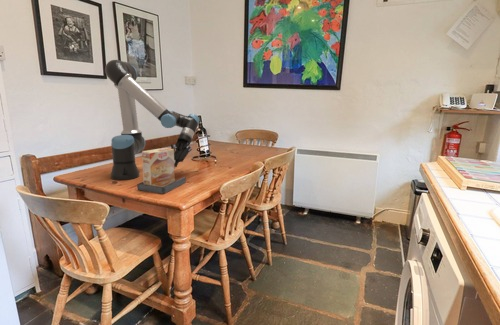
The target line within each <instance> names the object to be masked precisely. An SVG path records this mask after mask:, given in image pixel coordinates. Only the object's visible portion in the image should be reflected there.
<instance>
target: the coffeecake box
mask: <svg viewBox="0 0 500 325" xmlns="http://www.w3.org/2000/svg"><path fill="white" fill-rule="evenodd" d="M141 161H142V162H141V163H142V178H143V179H142V180H143V181H142V182H144V185H151V186H158V187H164V186H166V185H168V184H171V183H173V182H175V181H176V178H175V169H174V149H171V147H161V148H156V149H155V148H154V149H148V150H142V151H141Z"/></svg>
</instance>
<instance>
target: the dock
mask: <svg viewBox="0 0 500 325" xmlns="http://www.w3.org/2000/svg"><path fill="white" fill-rule="evenodd" d="M184 184H186V177H185V176H183V177H181V178H178V179H176V180H175V182H173V183H171V184H168V185H166V186H164V187H158V186H151V185H144V182H143V181H141V182H140V183H137V191H142V192H148V193H154V194H162V195H165V194H167V193H168V192H171V191H172V190H174V189H176V188H178V187H181V186H182V185H184Z"/></svg>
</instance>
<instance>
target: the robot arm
mask: <svg viewBox="0 0 500 325" xmlns="http://www.w3.org/2000/svg"><path fill="white" fill-rule="evenodd" d="M104 72H105V75H106V77H107V78H108V80H110V82H112V83H113V86H114V87H115V88H116V89H117V93H118V99H119V100H118V102H119V109H120V115H121V122H122V129H123V130H122V131H121V133H120V135H115V136H113V137H112V138H111V143H110V145H111V152H112V163H113V164H112V168H111V172H110V178H111V179H112V180H117V181H127V180H133V179H136V178H138V177H140V170H139V169H138V166H137V163H136V155H137V154H139V153H142V151H144V148H145V146H146V140H145V137H144V136H143V133H142V131H141V129H139V122H138V116H137V114H138V113H137V106H136V102H138V103H139V104H140V105H141V106H142V107H143V108H144V109H146V110H147V111H148V112H149V113H151V114H152V115H153V116H154V117H155V118H156V119H158V121H159V122H160V124H161V125H162V126H163V127H164V128H165V129H171V128H174V127H178V128H182V129H181V131H180V133H179V136H178V138H177V142H176V143H175V144H171V145H170V148H171V149H174V170H175V169H176V168H177V167H178V165H179V164H180V163H182V162H184V160H185V158H186V157H187V156H188V154H189V153H190V152H191V151H192V150H193V149H192V147H191V146H190V145H191V143H192V140H193V138H194V135H195V133H196V132H197V129H198V126H199V123H200V122H201V121H200V117H199V116H198V115H197V114H195V113H190V114H188V115H184V114H181V113H178V112H176V111H173V110H170V109H169V110H168V109H167V108H166V106H165V105H163V104H162V103H161V102H160V101H158V99H157V98H155V97H154V96H153V95H152V94H151V93H150V92H148V90H147V89H146V88H144V87H143V86H142V85H141V84H140V83H139V82H138V81H136V80H137V79H138V71H137V69H136V67H135V66H134V65H132V64H131V63H129V62H126V61H122V60H119V59H112V60H109V61H108V62H107V63H106V64H105V68H104Z"/></svg>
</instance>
